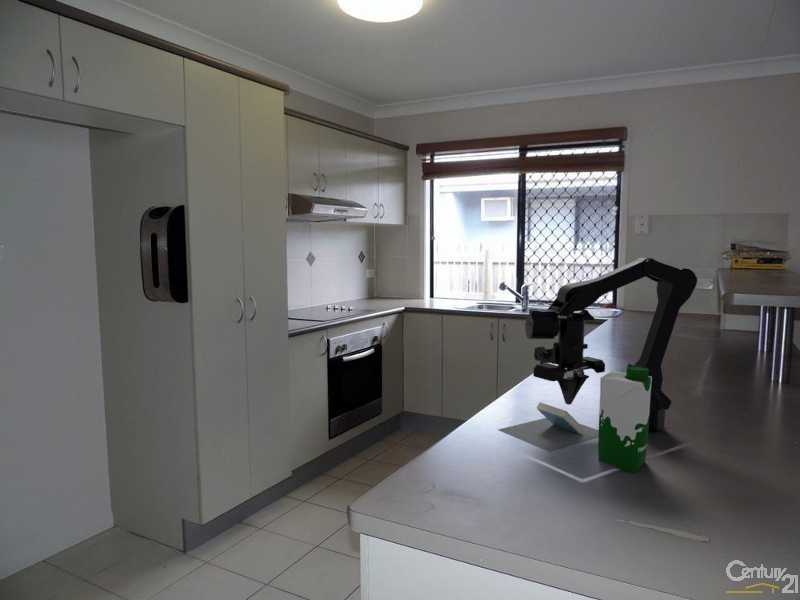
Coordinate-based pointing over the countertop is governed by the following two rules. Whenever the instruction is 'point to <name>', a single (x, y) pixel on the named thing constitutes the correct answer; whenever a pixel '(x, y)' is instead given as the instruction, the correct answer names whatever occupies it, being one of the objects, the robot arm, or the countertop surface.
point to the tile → (560, 418)
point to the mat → (549, 434)
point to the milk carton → (624, 418)
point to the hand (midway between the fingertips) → (568, 404)
